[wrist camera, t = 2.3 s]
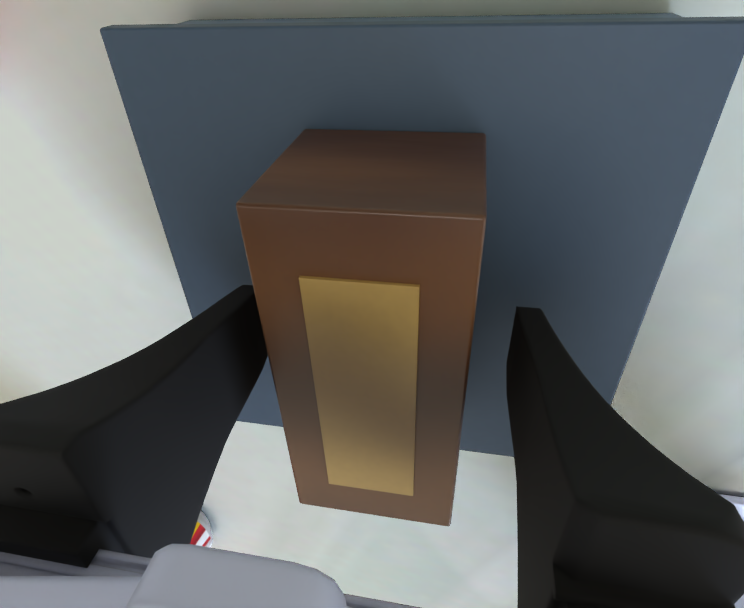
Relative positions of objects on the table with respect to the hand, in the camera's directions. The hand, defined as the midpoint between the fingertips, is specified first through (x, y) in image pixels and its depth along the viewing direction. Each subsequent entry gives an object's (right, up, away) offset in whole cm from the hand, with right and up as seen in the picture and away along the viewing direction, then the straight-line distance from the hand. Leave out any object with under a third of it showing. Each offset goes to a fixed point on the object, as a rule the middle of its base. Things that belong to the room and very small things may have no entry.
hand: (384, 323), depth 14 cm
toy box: (+1, +3, +4) cm, 6 cm away
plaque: (0, +1, +1) cm, 2 cm away
